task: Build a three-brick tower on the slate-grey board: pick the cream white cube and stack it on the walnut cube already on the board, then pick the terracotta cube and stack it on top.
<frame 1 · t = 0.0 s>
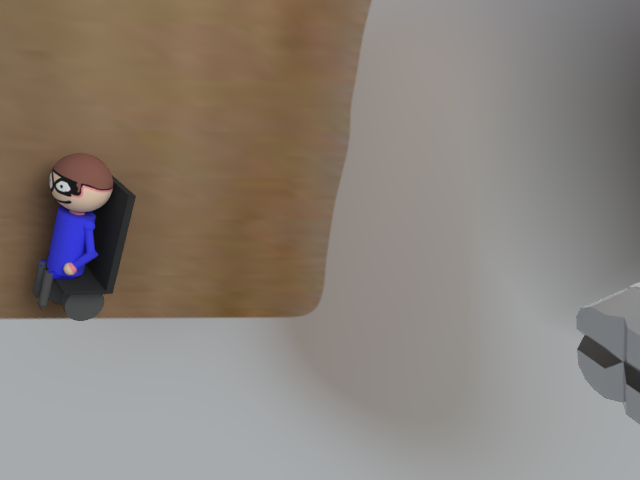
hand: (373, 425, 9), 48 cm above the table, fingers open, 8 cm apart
character figurine: (83, 224, 53), on the table
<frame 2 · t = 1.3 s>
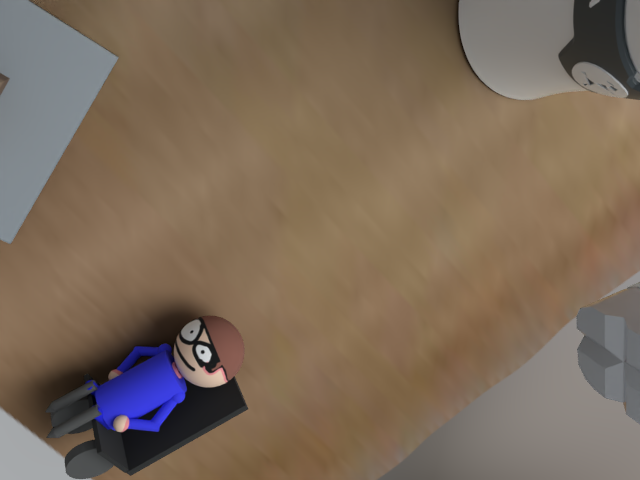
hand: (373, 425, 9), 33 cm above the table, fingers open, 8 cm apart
character figurine: (150, 365, 44), on the table
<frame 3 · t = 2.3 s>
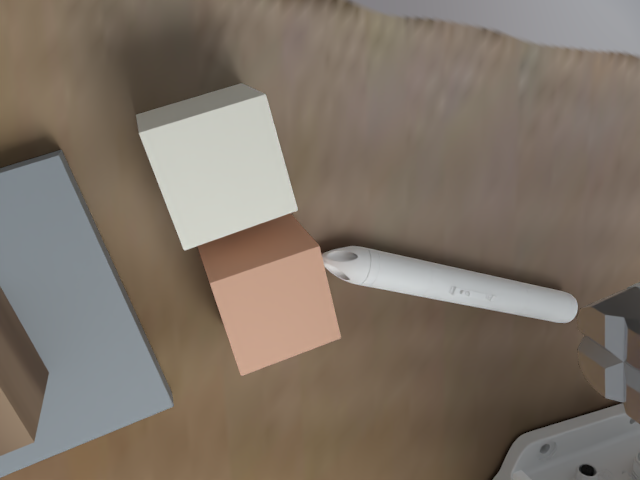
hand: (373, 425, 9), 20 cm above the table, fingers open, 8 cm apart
cream white cube: (207, 149, 27), on the table
marker: (444, 276, 34), on the table
brick terracotta: (256, 269, 30), on the table
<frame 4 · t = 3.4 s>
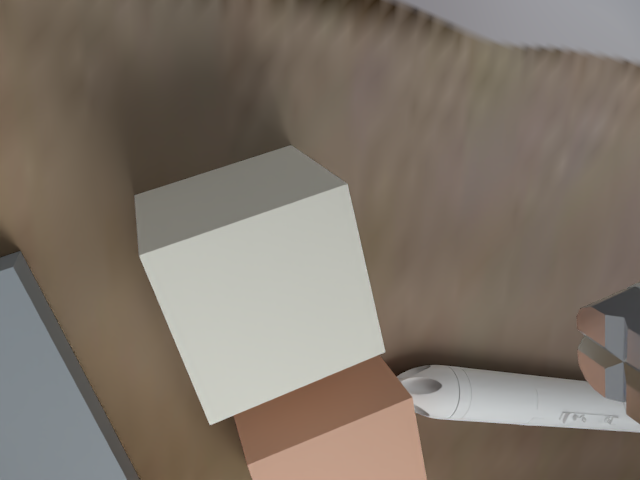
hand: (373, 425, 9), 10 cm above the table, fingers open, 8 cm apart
cream white cube: (238, 240, 18), on the table
marker: (542, 386, 26), on the table
brick terracotta: (301, 395, 21), on the table
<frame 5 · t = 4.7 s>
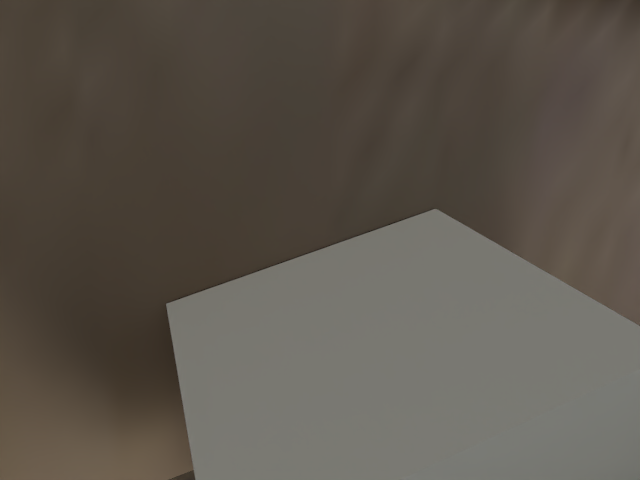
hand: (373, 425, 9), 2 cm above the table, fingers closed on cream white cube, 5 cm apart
cream white cube: (337, 368, 11), on the table, touching gripper
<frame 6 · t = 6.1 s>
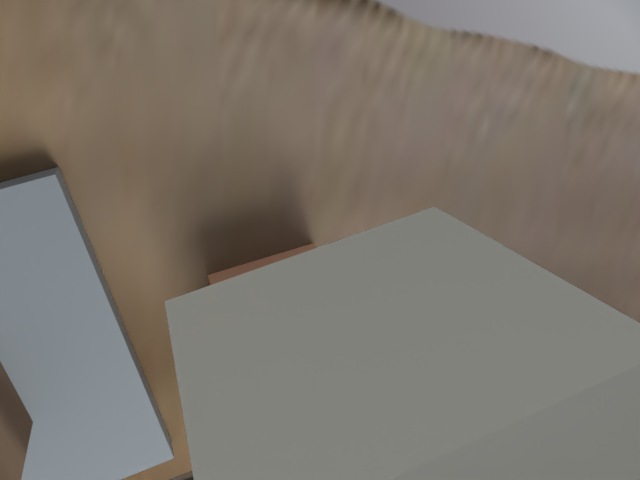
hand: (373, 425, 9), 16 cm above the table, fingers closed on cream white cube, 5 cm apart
cream white cube: (336, 365, 11), point 14 cm above the table, touching gripper
brick terracotta: (272, 305, 26), on the table
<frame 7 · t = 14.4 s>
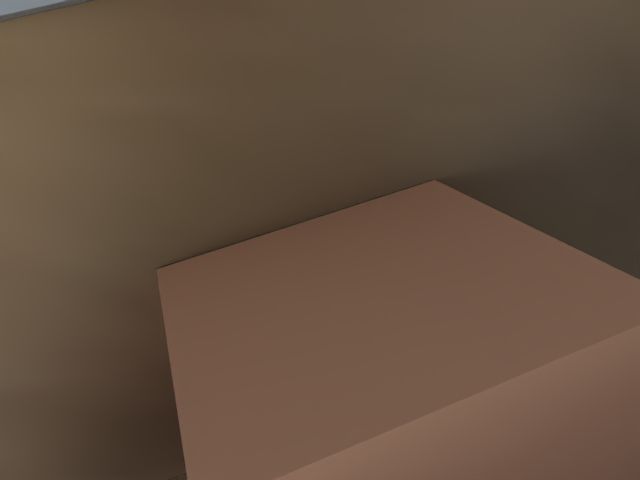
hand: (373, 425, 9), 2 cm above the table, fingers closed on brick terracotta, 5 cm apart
brick terracotta: (331, 342, 10), on the table, touching gripper
when the fingers open (14 cm above the table, at t = 20.0 s): brick terracotta stays where it is, resting on cream white cube.
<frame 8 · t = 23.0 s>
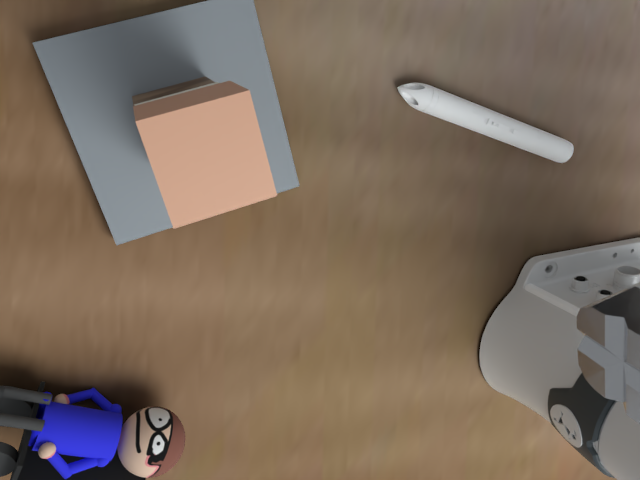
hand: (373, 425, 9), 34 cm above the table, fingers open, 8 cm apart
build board: (179, 119, 39), on the table
brick walnut: (181, 122, 38), point 1 cm above the table, touching cream white cube, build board
character figurine: (84, 408, 45), on the table
marker: (478, 120, 48), on the table
brick terracotta: (197, 140, 29), point 11 cm above the table, touching cream white cube
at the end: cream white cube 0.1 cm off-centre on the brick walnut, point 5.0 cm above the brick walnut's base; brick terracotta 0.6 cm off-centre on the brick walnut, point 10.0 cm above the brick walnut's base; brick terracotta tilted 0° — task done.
